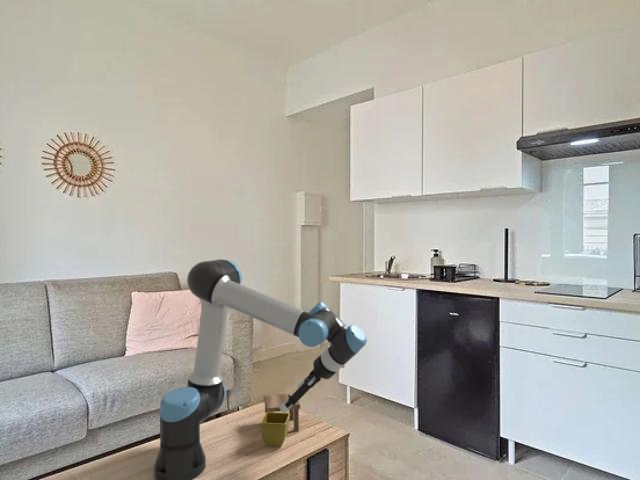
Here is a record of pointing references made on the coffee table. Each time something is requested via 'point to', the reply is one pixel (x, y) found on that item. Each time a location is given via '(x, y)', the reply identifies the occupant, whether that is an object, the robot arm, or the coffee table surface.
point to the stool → (273, 405)
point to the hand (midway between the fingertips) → (291, 398)
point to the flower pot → (275, 428)
